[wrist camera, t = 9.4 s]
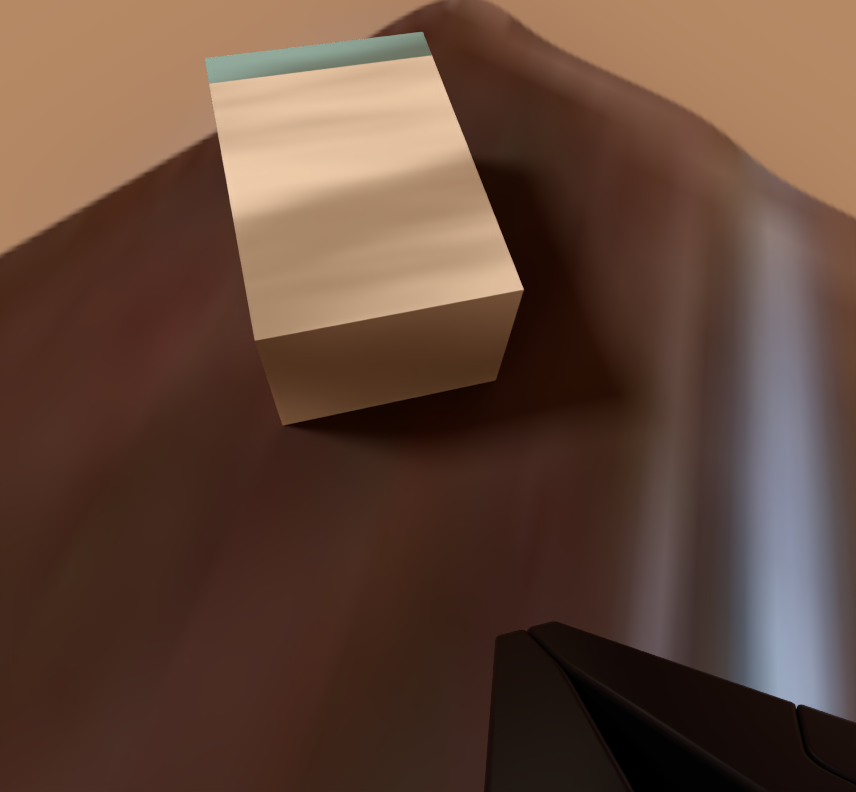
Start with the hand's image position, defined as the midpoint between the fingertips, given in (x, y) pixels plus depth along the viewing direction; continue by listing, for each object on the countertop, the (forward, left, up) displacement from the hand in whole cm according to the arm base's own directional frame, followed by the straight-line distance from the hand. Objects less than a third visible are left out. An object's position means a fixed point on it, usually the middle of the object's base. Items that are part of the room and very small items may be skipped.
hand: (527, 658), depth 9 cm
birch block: (+6, +5, -5) cm, 9 cm away
